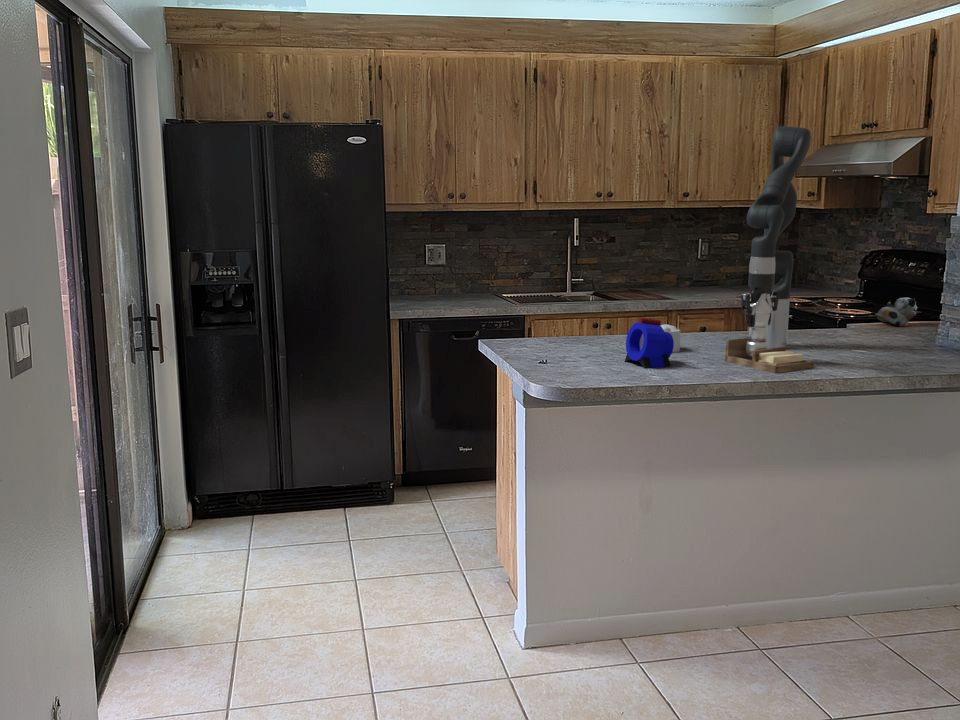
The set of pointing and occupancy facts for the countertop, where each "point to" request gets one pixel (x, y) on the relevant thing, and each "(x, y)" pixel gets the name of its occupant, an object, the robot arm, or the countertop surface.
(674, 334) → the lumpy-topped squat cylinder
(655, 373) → the countertop surface
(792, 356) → the offcut top
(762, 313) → the silver metal bottle
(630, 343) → the alarm clock
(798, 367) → the walnut rack
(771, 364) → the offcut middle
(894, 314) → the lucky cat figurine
